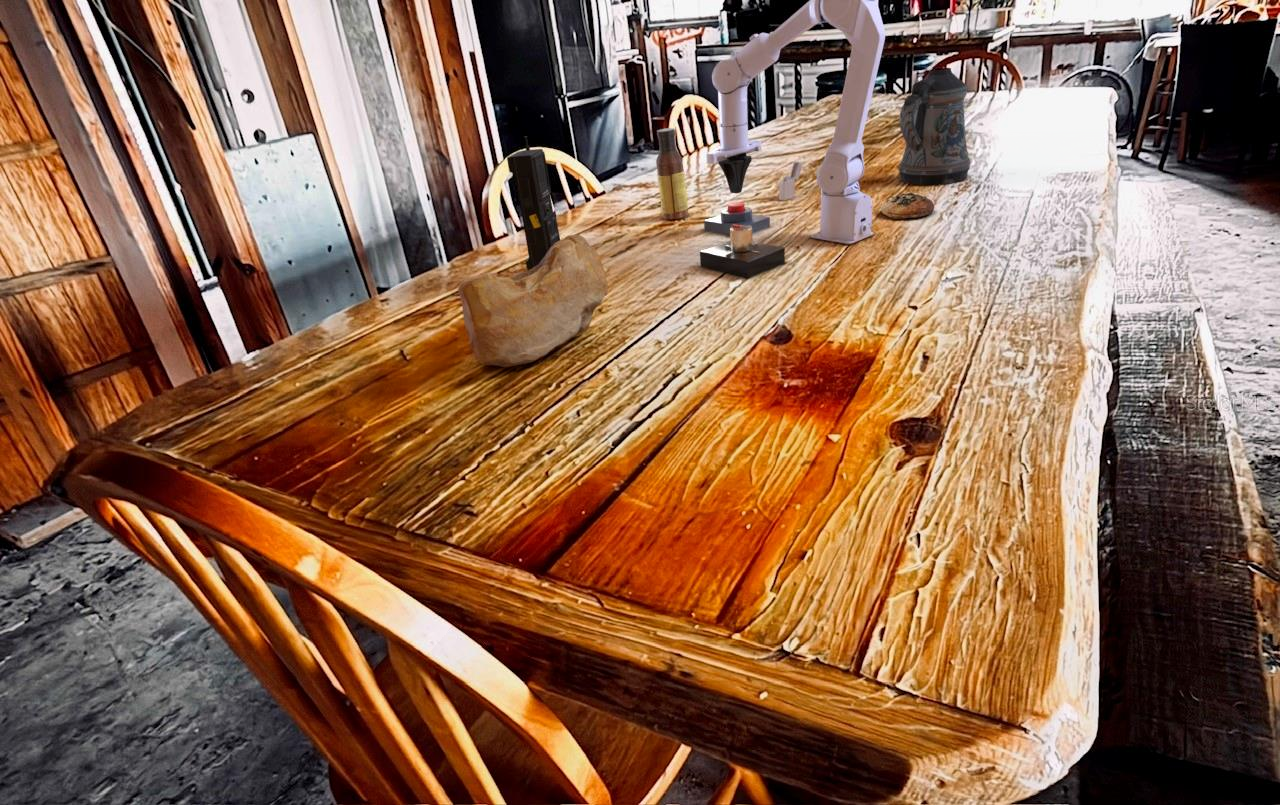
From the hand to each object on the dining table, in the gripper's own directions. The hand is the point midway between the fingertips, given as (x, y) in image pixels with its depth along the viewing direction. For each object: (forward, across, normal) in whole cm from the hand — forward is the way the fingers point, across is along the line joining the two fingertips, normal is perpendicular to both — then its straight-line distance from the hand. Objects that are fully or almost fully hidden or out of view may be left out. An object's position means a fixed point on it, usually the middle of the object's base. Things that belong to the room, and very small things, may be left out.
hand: (735, 192), depth 150 cm
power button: (+4, 0, 0) cm, 4 cm away
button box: (+8, 0, 0) cm, 8 cm away
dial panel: (+8, +18, +18) cm, 27 cm away
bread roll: (+8, -27, +24) cm, 37 cm away
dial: (+5, +18, +18) cm, 26 cm away
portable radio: (+8, +42, -12) cm, 44 cm away
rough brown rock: (+8, +63, +16) cm, 65 cm away
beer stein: (+8, -58, +12) cm, 60 cm away
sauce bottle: (+8, 0, -20) cm, 22 cm away
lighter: (+8, -28, -8) cm, 30 cm away
